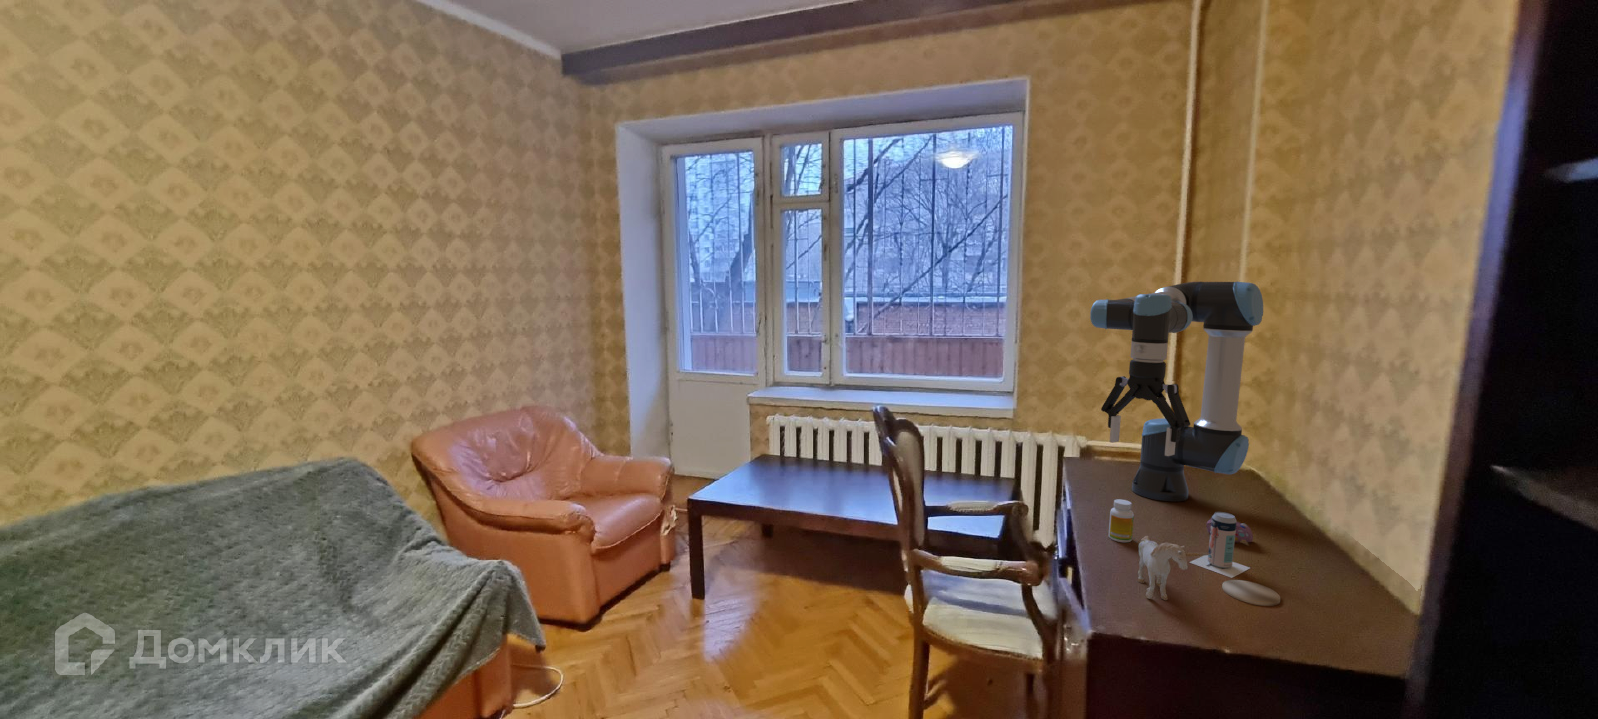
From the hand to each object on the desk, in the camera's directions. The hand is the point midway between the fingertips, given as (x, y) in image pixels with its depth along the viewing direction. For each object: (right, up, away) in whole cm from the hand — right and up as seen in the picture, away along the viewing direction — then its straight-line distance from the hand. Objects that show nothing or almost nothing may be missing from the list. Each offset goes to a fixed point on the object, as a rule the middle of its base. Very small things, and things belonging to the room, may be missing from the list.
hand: (1140, 448), depth 153 cm
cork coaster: (+13, -28, -18) cm, 36 cm away
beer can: (+16, -26, -5) cm, 31 cm away
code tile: (+16, -26, -5) cm, 31 cm away
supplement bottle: (0, -25, +10) cm, 26 cm away
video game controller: (+28, -25, +10) cm, 38 cm away
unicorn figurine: (-4, -28, -19) cm, 34 cm away
